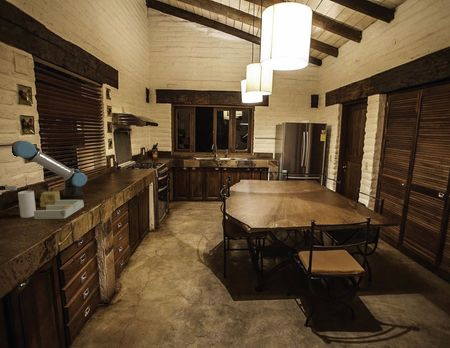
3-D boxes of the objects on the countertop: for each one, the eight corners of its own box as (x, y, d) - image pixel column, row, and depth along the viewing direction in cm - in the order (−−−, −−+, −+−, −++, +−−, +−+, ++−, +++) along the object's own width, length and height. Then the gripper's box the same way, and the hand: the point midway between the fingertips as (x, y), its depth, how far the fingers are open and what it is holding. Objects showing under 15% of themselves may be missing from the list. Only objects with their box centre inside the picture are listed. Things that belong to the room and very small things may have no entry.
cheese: (40, 207, 188) (38, 194, 186) (45, 203, 198) (44, 191, 197) (56, 206, 191) (55, 193, 189) (61, 203, 201) (60, 190, 199)
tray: (34, 219, 163) (33, 210, 162) (58, 206, 190) (57, 199, 190) (64, 218, 165) (63, 209, 164) (83, 206, 192) (83, 198, 191)
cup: (34, 212, 176) (31, 190, 173) (37, 215, 170) (35, 191, 168) (19, 215, 169) (16, 192, 167) (22, 218, 164) (19, 194, 162)
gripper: (-11, 191, 177) (22, 191, 179) (-45, 200, 152) (-6, 200, 154) (-12, 181, 176) (21, 181, 178) (-47, 188, 151) (-8, 188, 153)
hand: (8, 190), depth 166 cm, fingers open, 13 cm apart
